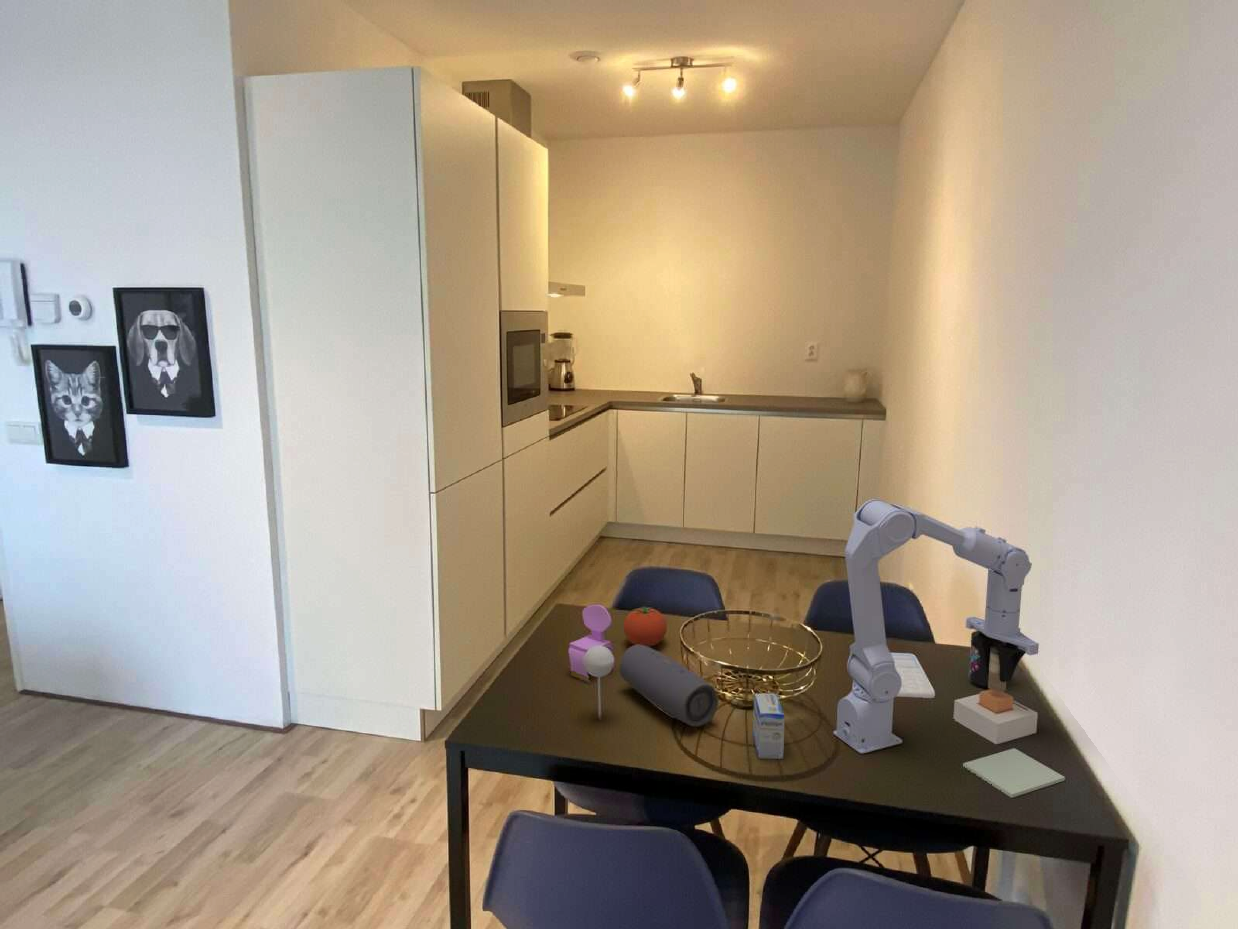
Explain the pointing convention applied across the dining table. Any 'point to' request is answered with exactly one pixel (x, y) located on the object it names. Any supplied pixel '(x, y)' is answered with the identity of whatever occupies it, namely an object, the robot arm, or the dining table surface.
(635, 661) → the bluetooth speaker
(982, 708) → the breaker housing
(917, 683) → the calculator
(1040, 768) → the sage board
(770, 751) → the medicine box
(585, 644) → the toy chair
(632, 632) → the tomato
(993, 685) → the tan lidded jar
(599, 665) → the lollipop
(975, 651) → the supplement container
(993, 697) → the button
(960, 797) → the dining table surface
